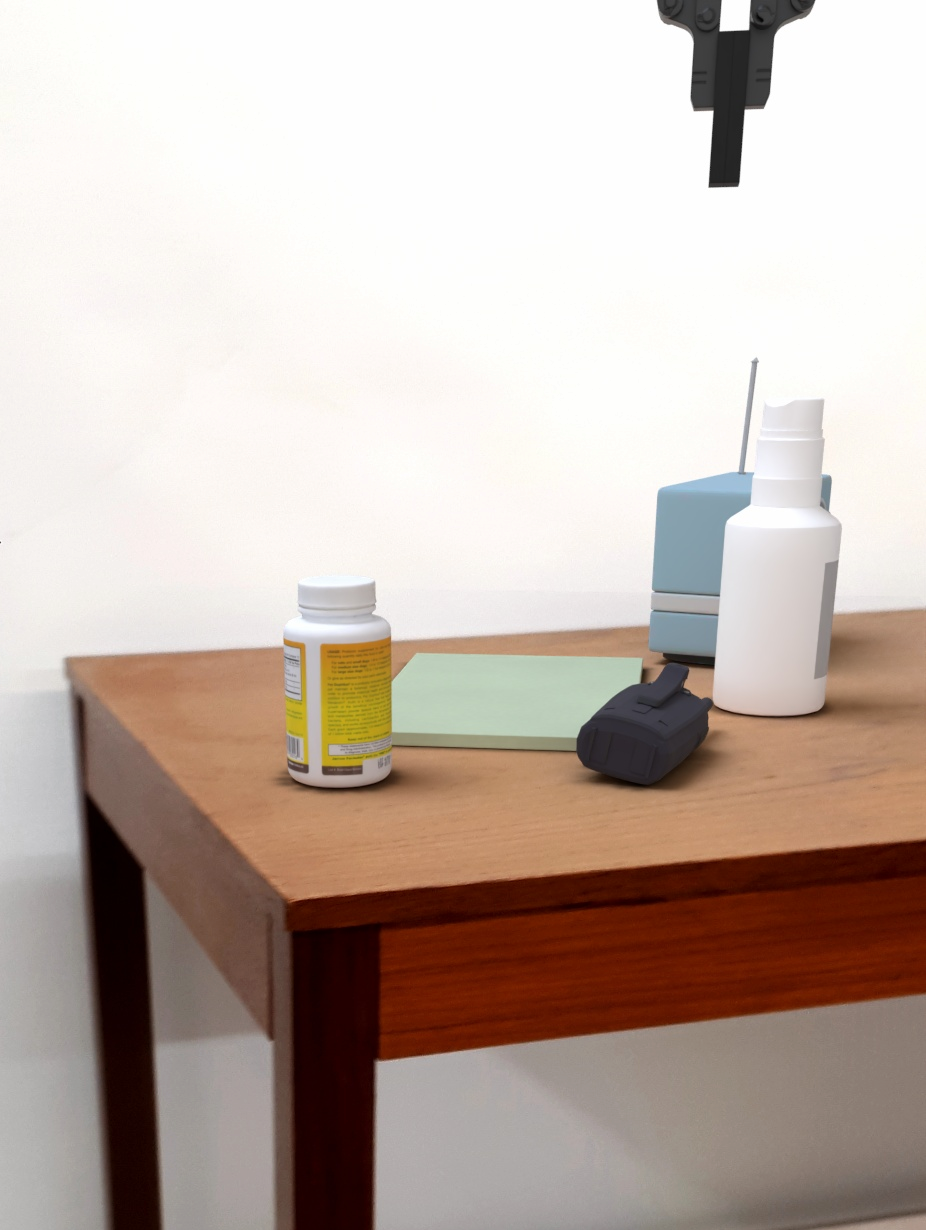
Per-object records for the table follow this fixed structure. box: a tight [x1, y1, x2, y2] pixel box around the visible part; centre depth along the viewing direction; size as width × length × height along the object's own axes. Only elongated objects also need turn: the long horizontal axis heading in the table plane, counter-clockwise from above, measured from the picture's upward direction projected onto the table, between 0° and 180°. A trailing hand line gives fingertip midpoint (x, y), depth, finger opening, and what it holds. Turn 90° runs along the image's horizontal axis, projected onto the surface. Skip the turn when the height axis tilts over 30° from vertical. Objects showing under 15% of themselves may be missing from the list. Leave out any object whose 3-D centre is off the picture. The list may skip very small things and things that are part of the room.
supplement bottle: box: [282, 574, 393, 789], centre depth 87 cm, size 6×6×10 cm
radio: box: [648, 356, 833, 666], centre depth 119 cm, size 16×9×20 cm, turn 150°
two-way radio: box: [575, 662, 714, 786], centre depth 91 cm, size 6×4×15 cm
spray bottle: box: [712, 397, 843, 717], centre depth 101 cm, size 7×7×18 cm
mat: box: [392, 652, 644, 752], centre depth 106 cm, size 16×26×1 cm, turn 169°
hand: (723, 184), depth 83 cm, fingers closed
